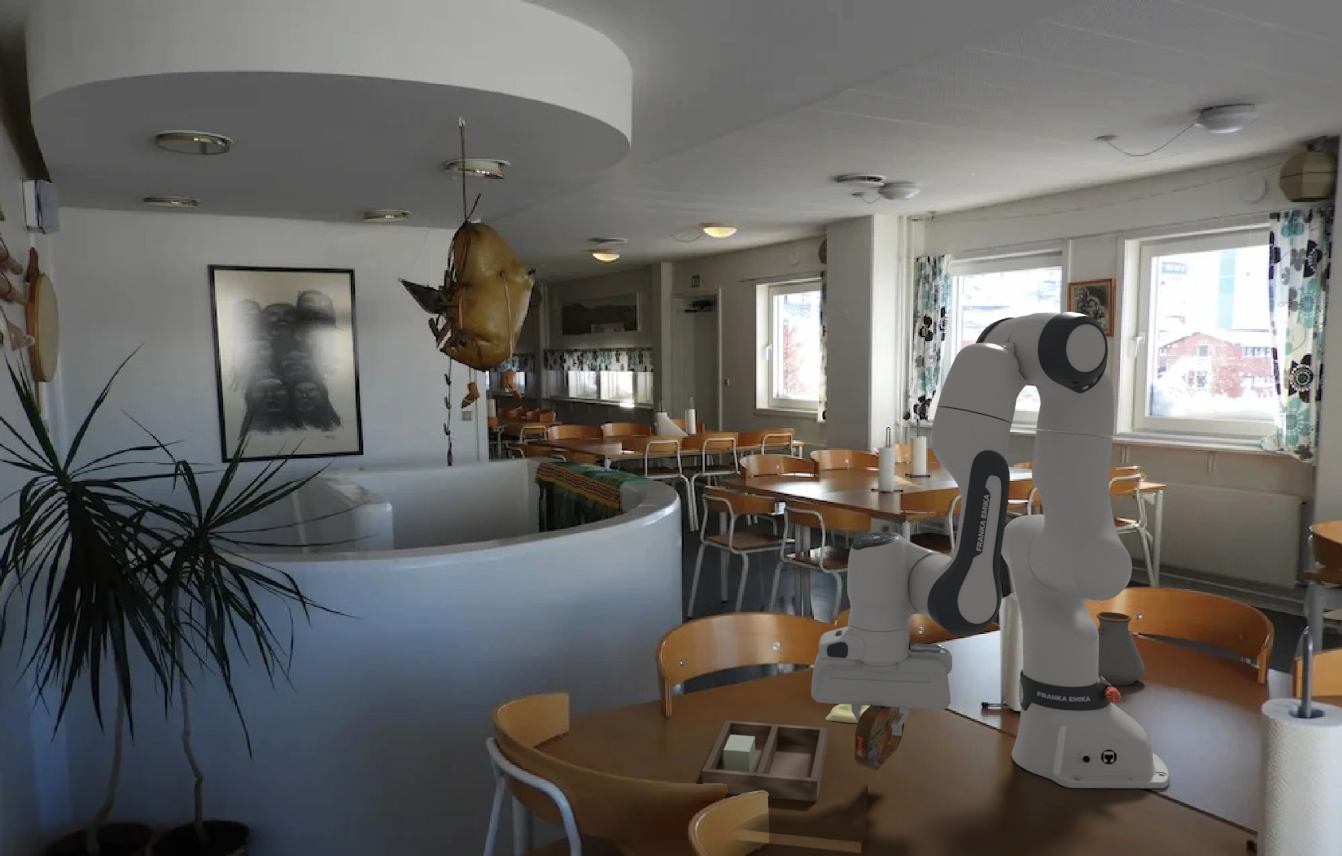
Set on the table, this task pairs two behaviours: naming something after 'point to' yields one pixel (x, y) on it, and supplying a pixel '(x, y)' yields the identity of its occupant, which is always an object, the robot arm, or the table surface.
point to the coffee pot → (1117, 650)
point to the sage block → (739, 753)
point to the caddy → (773, 760)
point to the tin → (876, 736)
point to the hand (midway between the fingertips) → (880, 732)
